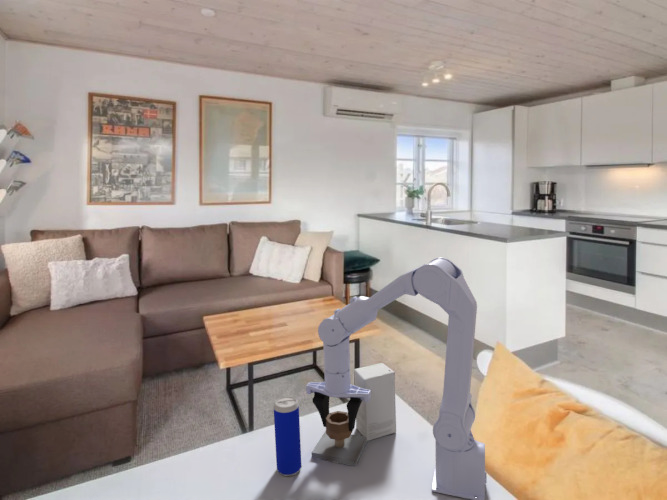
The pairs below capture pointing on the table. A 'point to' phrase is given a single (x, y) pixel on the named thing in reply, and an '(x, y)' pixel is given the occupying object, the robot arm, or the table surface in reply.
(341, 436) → the walnut ring
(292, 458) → the beverage can
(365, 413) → the skincare box
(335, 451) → the dowel stand
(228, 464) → the table surface
